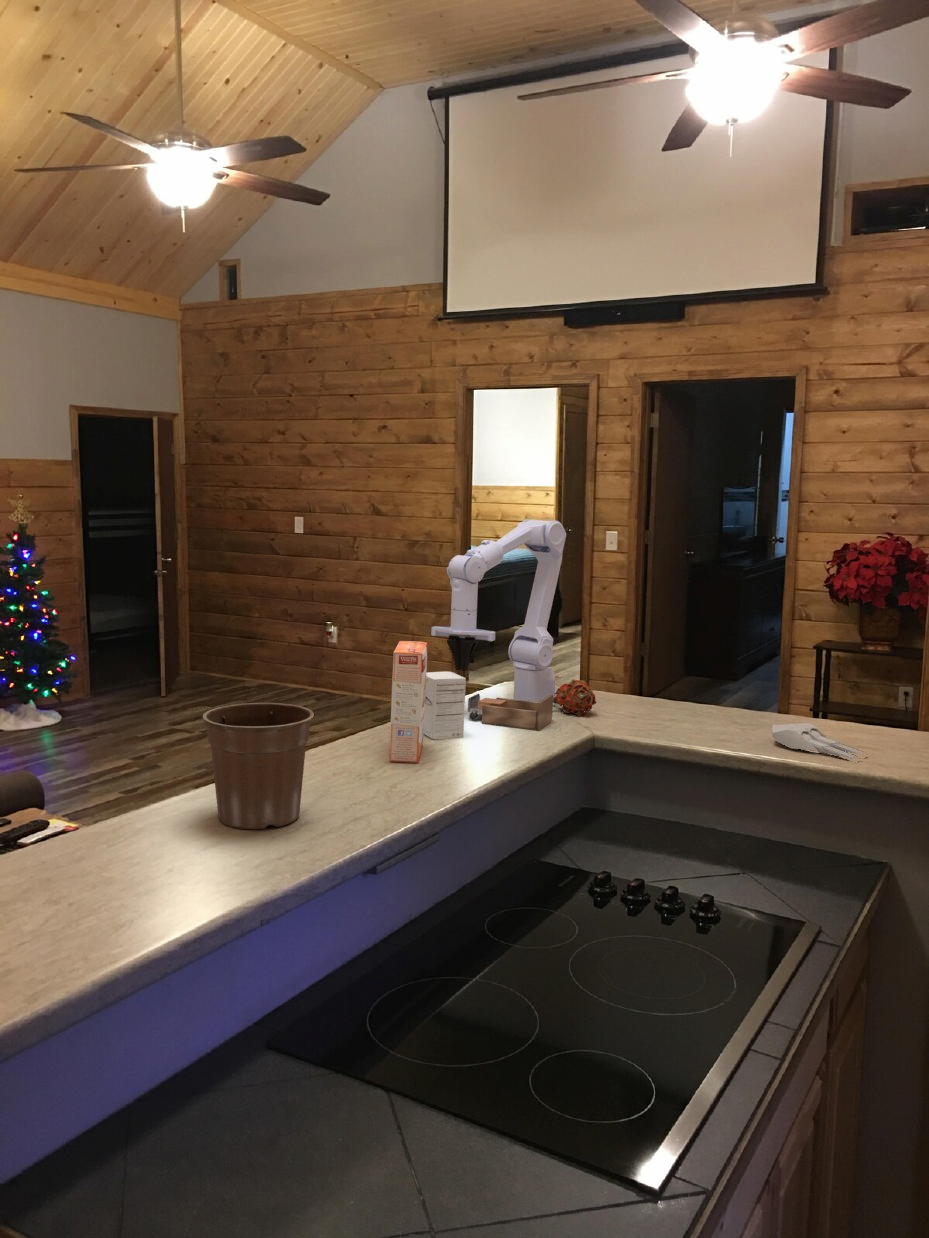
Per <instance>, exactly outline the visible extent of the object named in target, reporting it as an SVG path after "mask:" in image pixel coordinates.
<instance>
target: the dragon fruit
mask: <svg viewBox="0 0 929 1238" xmlns="http://www.w3.org/2000/svg"><path fill="white" fill-rule="evenodd" d="M552 694H553V693H552ZM555 695H556V696H555V698H554V697H553V703H554V704H556V705H559V706H560V707H561V709H562V712H564V713H565V714H570V713H572V714H573V715H578V716H582V715H583V714H585V712H589V711H591V710H592V709H593V706H595V705H596V704H597V700H596V694H595V693H594V691H593V689H592V688H591V687H590V686H589V684H588V683H586V681H585V680H580V679H579V680H578V679H577V680H576V679H570V682H568V683H563V684H561V685H560V687H558V688H557V690H555Z"/></svg>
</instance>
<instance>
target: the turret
mask: <svg viewBox="0 0 929 1238" xmlns="http://www.w3.org/2000/svg"><path fill="white" fill-rule="evenodd" d="M771 737H772V738H773V739H774V740H775V741H776V743H779V744H781V745H783V746H784V745H785V747H788V748H789V749H794V750H798V749H801V750H800V751H802V750H810V751H818V752H820V753H822V754H826V753H829V754H832V755H836V756H843V757H847V758H850V759H854V760H856V759H855V758H857V756H856V755H854V754H849V753H848V752H850V753H859V754H862V753H866V751H865V752H864V751H863V750H860V749H858V748H855V747H851V746H849V745H846V744H843V743H841V742H840V741H837V740H834V739H831V738H829V737H827V736H826V735H825V734H824V733H823V732H822V731H821V730H820V729H819V728H818V727H817V726H816V725H814V724H812V723H810V722H803V723H801V722H800V723H799V722H798V723H786V724H773V725H771ZM845 751H846V752H845ZM857 759H858V758H857Z"/></svg>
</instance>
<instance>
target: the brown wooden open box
mask: <svg viewBox="0 0 929 1238" xmlns="http://www.w3.org/2000/svg"><path fill="white" fill-rule="evenodd" d="M495 699H500V700H507V707H509V708H504V707H496V706H487V705H483V706H482V713H481V724H482V725H489V726H496V727H497V726H498V727H506V728H513V729H514V728H515V729H522V730H527V731H529V730H530V731H536V732H537V731H538V732H539V731H541V730H542V729H544V728H545V727H546V726H548V725H549V724H550V723H552V721H553V695H548V696H547V697H545V698H544V699H542V700H540V701H539V702H532V701H524V700H515V699H513V698H506V697H505V698H503V697H496V698H495Z"/></svg>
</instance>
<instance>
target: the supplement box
mask: <svg viewBox="0 0 929 1238" xmlns="http://www.w3.org/2000/svg"><path fill="white" fill-rule="evenodd" d="M466 682H467V679H466V677H464V676H461V675H459V674H457V673H455V672H452V671H432V672H426V695H425V714H424V732H423V735H425V736H427V737H428V738H429V739H431V740H433V739H434V740H444V739H445V740H446V738H449V739H457V738H460V739H461V738H464V731H465V730H464V729H465V728H464V727H465V707H466V706H465V705H466V704H465V703H466V688H467V687H466V684H467V683H466Z"/></svg>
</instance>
